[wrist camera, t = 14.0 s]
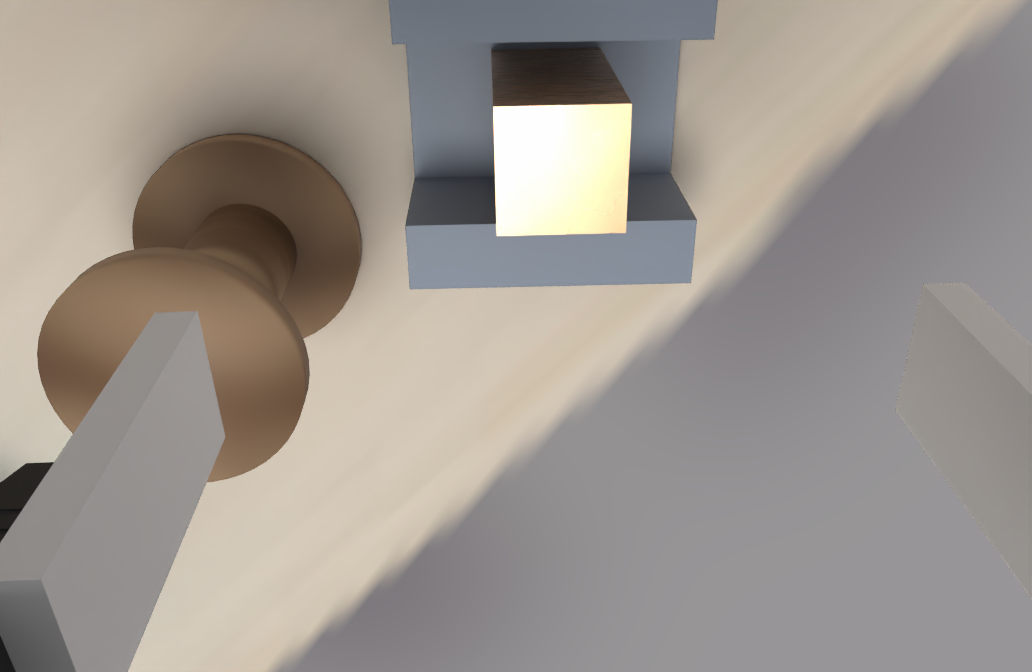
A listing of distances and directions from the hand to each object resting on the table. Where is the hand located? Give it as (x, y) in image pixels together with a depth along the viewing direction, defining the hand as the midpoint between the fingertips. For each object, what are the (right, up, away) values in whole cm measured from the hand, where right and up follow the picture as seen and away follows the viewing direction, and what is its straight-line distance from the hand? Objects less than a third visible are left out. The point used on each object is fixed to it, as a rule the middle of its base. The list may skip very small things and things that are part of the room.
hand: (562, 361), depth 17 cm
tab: (0, +9, +17) cm, 20 cm away
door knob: (-12, +4, +21) cm, 24 cm away
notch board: (0, +10, +18) cm, 21 cm away
